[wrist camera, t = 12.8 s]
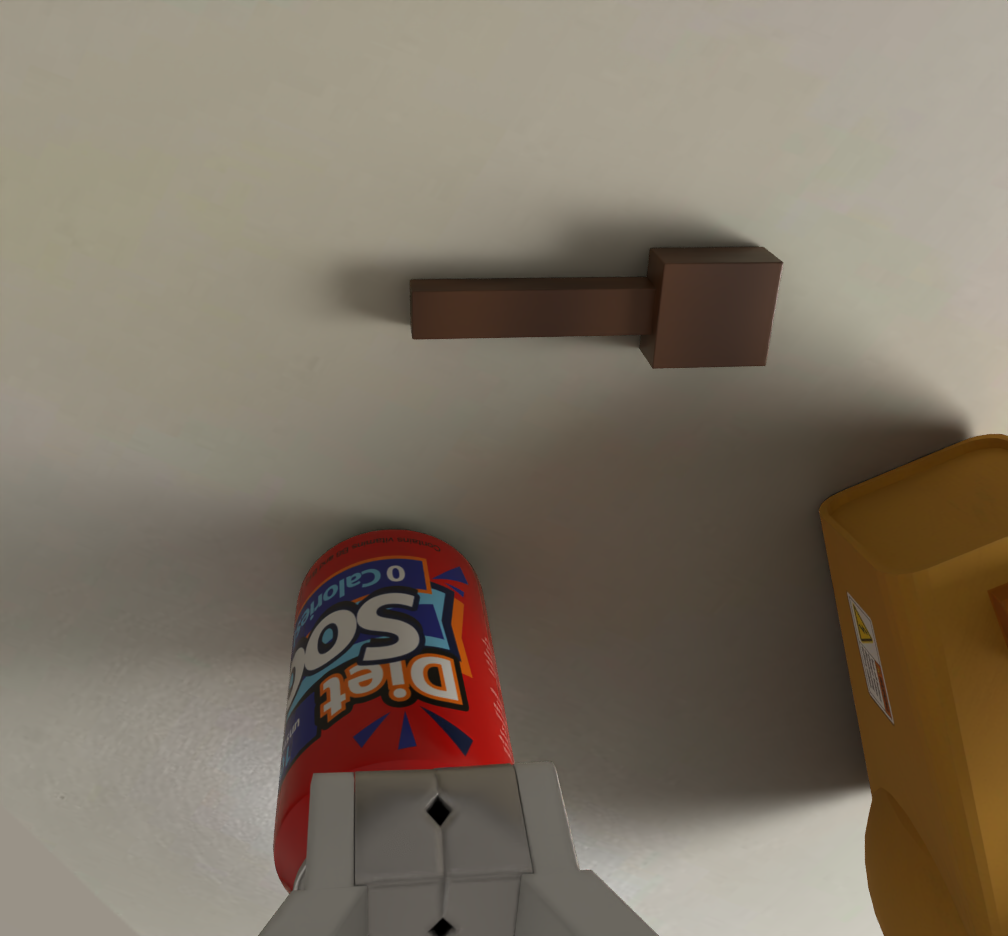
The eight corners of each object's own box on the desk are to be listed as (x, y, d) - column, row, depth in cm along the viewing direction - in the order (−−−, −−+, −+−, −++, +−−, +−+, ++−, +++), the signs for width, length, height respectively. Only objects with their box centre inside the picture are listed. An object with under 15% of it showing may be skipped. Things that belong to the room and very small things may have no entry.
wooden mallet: (411, 353, 36) (413, 374, 34) (409, 249, 34) (411, 266, 32) (747, 346, 38) (765, 366, 36) (763, 246, 36) (784, 262, 34)
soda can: (430, 685, 44) (458, 999, 31) (268, 631, 41) (226, 951, 28) (513, 555, 41) (583, 843, 28) (345, 489, 38) (336, 773, 25)
